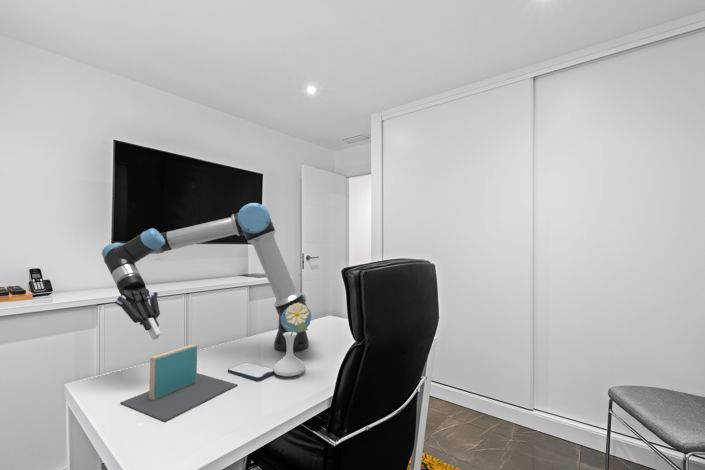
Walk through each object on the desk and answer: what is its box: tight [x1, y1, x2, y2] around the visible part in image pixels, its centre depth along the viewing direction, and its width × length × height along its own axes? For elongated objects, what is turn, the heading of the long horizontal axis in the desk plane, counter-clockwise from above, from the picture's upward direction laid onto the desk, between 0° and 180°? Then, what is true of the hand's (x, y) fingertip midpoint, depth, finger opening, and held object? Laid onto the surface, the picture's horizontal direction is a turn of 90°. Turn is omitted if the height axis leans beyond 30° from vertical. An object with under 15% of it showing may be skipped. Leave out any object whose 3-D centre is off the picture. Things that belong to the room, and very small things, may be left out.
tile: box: [148, 343, 198, 400], centre depth 99 cm, size 14×2×12 cm, turn 153°
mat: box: [120, 372, 238, 423], centre depth 97 cm, size 24×20×1 cm
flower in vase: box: [272, 303, 309, 377], centre depth 114 cm, size 13×11×25 cm
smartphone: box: [227, 362, 276, 382], centre depth 114 cm, size 9×2×16 cm
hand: (156, 336), depth 103 cm, fingers closed
